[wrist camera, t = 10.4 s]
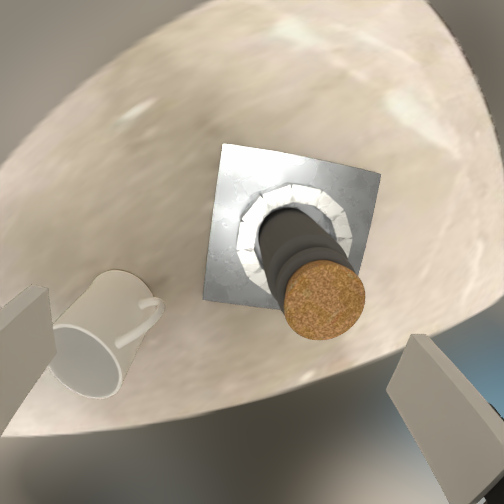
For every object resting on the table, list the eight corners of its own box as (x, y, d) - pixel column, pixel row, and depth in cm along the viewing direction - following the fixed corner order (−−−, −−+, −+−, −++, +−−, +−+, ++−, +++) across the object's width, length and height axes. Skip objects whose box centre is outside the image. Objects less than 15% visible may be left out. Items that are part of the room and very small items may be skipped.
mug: (163, 249, 32) (126, 299, 21) (194, 318, 35) (176, 389, 23) (78, 281, 33) (24, 332, 22) (110, 341, 36) (72, 405, 24)
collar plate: (203, 295, 34) (199, 310, 31) (223, 143, 29) (221, 142, 26) (343, 312, 35) (352, 327, 32) (377, 173, 31) (391, 176, 27)
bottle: (295, 195, 30) (345, 232, 16) (326, 242, 32) (389, 312, 17) (246, 229, 31) (251, 295, 17) (279, 274, 32) (307, 365, 18)
